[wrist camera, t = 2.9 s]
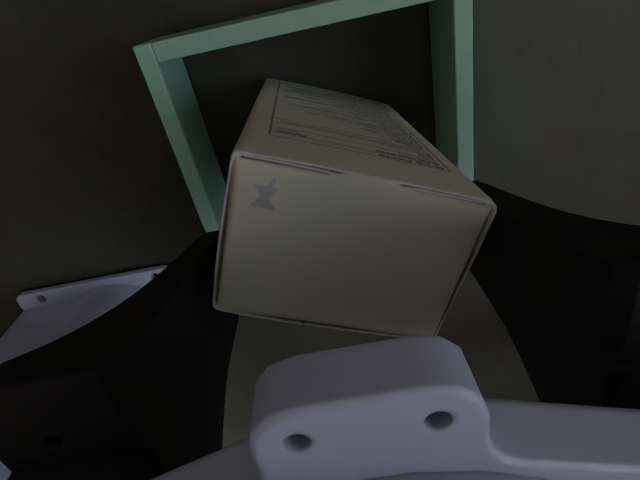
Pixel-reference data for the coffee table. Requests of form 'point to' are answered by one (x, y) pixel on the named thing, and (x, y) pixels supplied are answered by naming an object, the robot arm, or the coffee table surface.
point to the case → (331, 7)
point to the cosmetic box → (343, 217)
